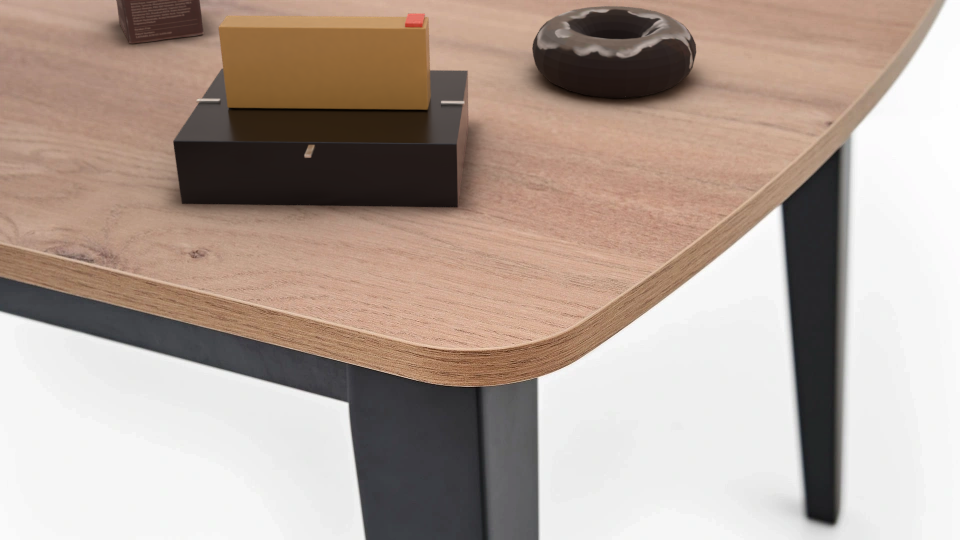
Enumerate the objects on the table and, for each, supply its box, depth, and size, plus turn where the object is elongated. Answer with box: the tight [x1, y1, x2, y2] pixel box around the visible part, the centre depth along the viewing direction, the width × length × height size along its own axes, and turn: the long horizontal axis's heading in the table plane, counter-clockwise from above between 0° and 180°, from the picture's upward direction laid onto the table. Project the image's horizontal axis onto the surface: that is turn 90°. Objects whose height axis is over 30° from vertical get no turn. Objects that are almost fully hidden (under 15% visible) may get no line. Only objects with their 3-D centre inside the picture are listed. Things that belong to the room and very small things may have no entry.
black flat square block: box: [172, 68, 469, 208], centre depth 74 cm, size 16×16×4 cm
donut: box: [531, 5, 697, 99], centre depth 87 cm, size 12×12×4 cm
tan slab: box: [218, 12, 431, 110], centre depth 72 cm, size 12×2×5 cm, turn 88°
